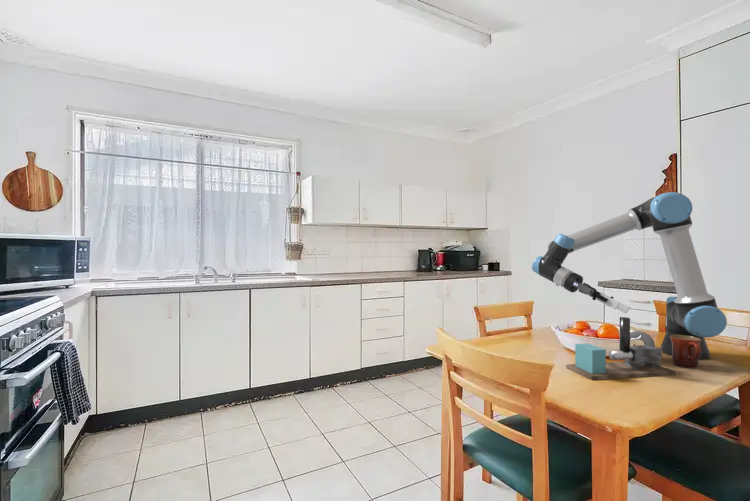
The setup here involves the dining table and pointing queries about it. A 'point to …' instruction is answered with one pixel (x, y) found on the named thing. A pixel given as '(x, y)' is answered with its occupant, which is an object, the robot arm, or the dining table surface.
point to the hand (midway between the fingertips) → (622, 308)
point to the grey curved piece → (643, 337)
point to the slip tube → (623, 342)
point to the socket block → (590, 358)
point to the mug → (685, 350)
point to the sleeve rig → (631, 365)
